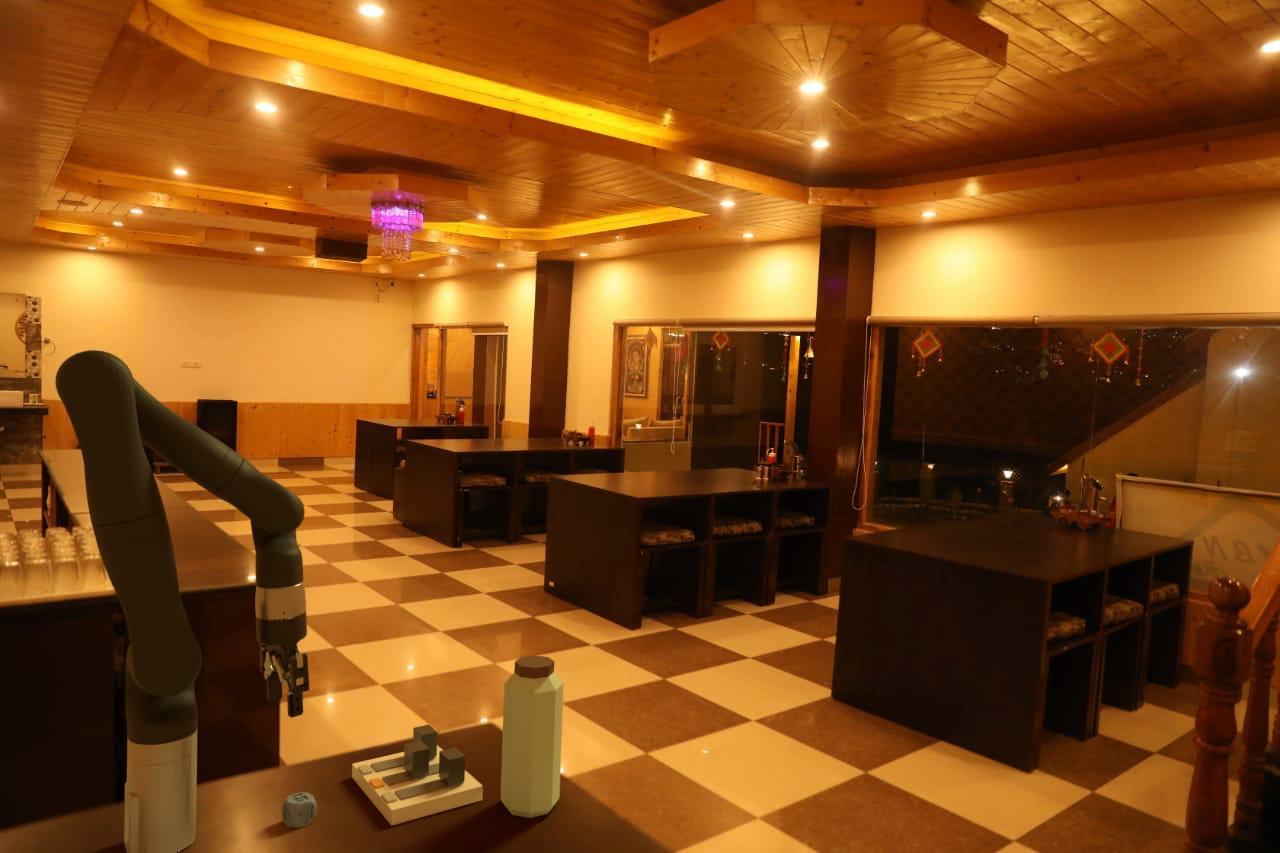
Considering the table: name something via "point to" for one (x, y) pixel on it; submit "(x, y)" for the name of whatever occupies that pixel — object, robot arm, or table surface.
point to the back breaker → (426, 738)
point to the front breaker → (451, 766)
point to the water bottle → (532, 737)
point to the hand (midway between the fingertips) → (285, 707)
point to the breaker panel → (411, 788)
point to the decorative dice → (299, 810)
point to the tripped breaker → (416, 758)
